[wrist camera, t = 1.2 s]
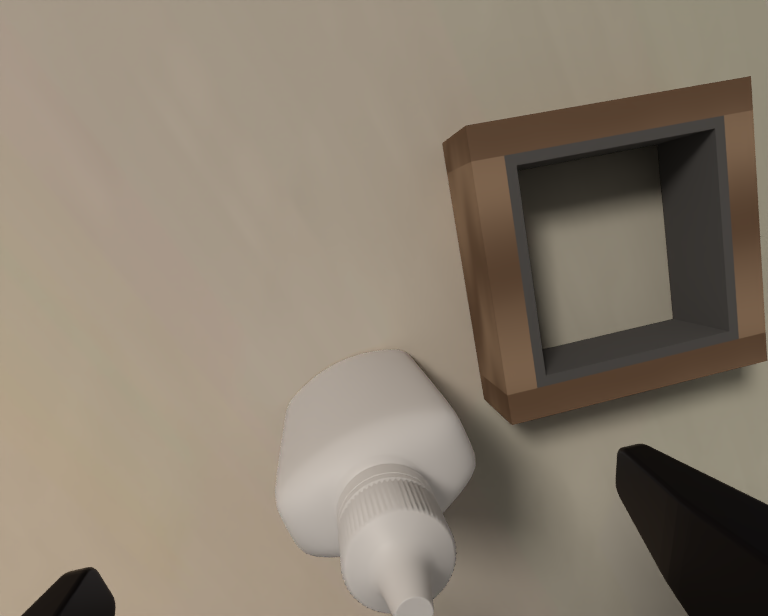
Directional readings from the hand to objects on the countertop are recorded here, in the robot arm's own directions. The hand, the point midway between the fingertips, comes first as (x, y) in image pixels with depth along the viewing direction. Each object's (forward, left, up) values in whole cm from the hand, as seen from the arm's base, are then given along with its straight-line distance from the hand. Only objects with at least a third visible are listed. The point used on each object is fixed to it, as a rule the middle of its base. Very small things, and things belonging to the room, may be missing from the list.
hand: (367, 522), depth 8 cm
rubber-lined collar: (+2, -11, -12) cm, 17 cm away
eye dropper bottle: (-2, 0, -12) cm, 12 cm away
